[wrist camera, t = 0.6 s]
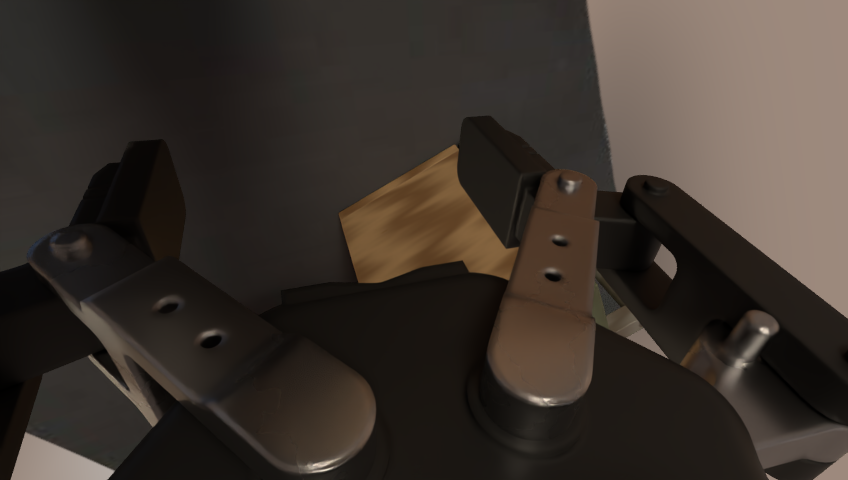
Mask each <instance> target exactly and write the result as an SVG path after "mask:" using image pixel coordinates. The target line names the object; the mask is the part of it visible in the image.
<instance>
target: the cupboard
mask: <svg viewBox="0 0 848 480" xmlns="http://www.w3.org/2000/svg"><path fill="white" fill-rule="evenodd" d="M458 153H459V149H458V148H457V147H456V145H453V146H451V147H449V148H448V149H446V150H444V151H443V152H441V153H439V154H437V155H436V156H434V157H432V158H431V159H429V160H427V161H426V162H424V163H422V164H421V165H419V166H417V167H416V168H414V169H412V170H410V171H409V172H407V173H405V174H404V175H402V176H400V177H399V178H397V179H395V180H394V181H392V182H390V183H388V184H387V185H385V186H383V187H382V188H380V189H378V190H377V191H375V192H373V193H372V194H370V195H368V196H367V197H365V198H363V199H361V200H360V201H358V202H356V203H355V204H353V205H351V206H350V207H348V208H346V209H345V210H343V211H341V212H339V217H340V220H341V224H342V227H343V231H344V234H345V238H346V241H347V245H348V248H349V252H350V255H351V259H352V262H353V266H354V269H355V272H356V276H357V279H358V283H379V282H383V281H386V280H389V279H391V278H394V277H397V276H399V275H402V274H405V273H407V272H410V271H412V270H415V269H418V268H420V267H425V266H431V265H437V264H443V263H449V262H455V261H461V260H463V262H464V263H465V265H466V267H467V269H468V270H469V272H476V273H484V274H489V275H494V276H498V277H501V278H504V279H507V280H509V278H510V275H511V272H512V269H513V265H514V262H515V259H516V256H517V252H518V249H519V247H516V248H510V249H506V248H505V247H504V245H503V244H502V243H501V241H500V240H499V238H498V237H497V236H496V234H495V233H494V231H493V230H492V229H491V227H490V226H489V224H488V223H487V221H486V220H485V219H484V217H483V216H482V214H481V213H480V212H479V210H478V209H477V207H476V206H475V205H474V203H473V202H472V200H471V199H470V197H469V196H468V195H467V193H466V192H465V190H464V189H463V188H462V186H461V185H460V182H459V179H458V175H457V162H458Z"/></svg>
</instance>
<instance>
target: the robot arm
mask: <svg viewBox="0 0 848 480" xmlns="http://www.w3.org/2000/svg"><path fill="white" fill-rule="evenodd" d="M457 175H458V179H459V182H460V185H461V186H462V188H463V189H464V190H465V192H466V193H467V195H468V196H469V197H470V199H471V200H472V202H473V203H474V205H475V206H476V207H477V209H478V210H479V212H480V213H481V214H482V216H483V217H484V219H485V220H486V221H487V223H488V224H489V226H490V227H491V229H492V230H493V231H494V233H495V234H496V236H497V237H498V238H499V240H500V241H501V243H502V244H503V245H504V247H505V248H506V249H510V248H516V247H519V249H518V252H517V256H516V259H515V262H514V265H513V269H512V272H511V275H510V278H509V280H507V279H504V278H501V277H498V276H494V275H489V274H484V273H476V272H469V270H468V269H467V267H466V265H465V263H464V262H463V260H461V261H455V262H449V263H443V264H437V265H431V266H425V267H420V268H418V269H415V270H412V271H410V272H407V273H405V274H402V275H399V276H397V277H394V278H391V279H389V280H386V281H383V282H379V283H340V282H329V283H323V284H317V285H311V286H305V287H299V288H293V289H287V290H281V295H282V305H279V306H277V307H274V308H272V309H270V310H268V311H266V312H264V313H262V314H261V315H259V316H258V315H256V314H255V313H253V312H252V311H251V310H249V309H248V308H246V307H245V306H243V305H242V304H241V303H239V302H238V301H236V300H235V299H233V298H232V297H231V296H229V295H228V294H226V293H225V292H224V291H222V290H221V289H219V288H218V287H216V286H215V285H214V284H212V283H211V282H209V281H208V280H206V279H205V278H204V277H202V276H201V275H199V274H198V273H196V272H195V271H194V270H192V269H191V268H189V267H188V266H186V265H185V264H184V263H182V262H181V261H179V256H180V249H181V243H182V237H183V230H184V224H185V217H186V209H185V202H184V197H183V193H182V190H181V187H180V184H179V180H178V177H177V174H176V171H175V168H174V165H173V162H172V158H171V155H170V152H169V149H168V146H167V144H166V142H165V141H164V140H163V139H160V140H147V141H133V142H129V143H128V145H127V147H126V150H125V152H124V155H123V157H122V159H121V162H119V163H109V164H107V165H106V166H105V167H103V168H102V169H101V170H99V171H98V172H97V173H96V174H94V175H93V177H92V179H91V181H90V183H89V186H88V190H86V192H85V194H84V196H83V200H81V202H80V204H79V206H78V208H77V210H76V212H75V214H74V217H73V219H72V221H71V223H70V225H69V226H68V227H65V228H61V229H59V230H56V231H54V232H51V233H49V234H47V235H46V236H44V237H42V238H41V239H39V240H38V241H36V242H35V243H34V244H33V245H32V246H31V248H30V249H29V251H28V253H27V260H28V262H29V263H27V264H24V265H21V266H18V267H15V268H12V269H9V270H5V271H2V272H0V480H10V479H11V476H12V473H13V470H14V467H15V463H16V460H17V457H18V454H19V450H20V447H21V444H22V441H23V438H24V434H25V431H26V428H27V425H28V422H29V418H30V415H31V412H32V409H33V405H34V402H35V399H36V396H37V392H38V389H39V386H40V383H41V380H42V375H43V374H44V373H46V372H49V371H51V370H54V369H56V368H59V367H61V366H64V365H66V364H69V363H71V362H74V361H76V360H79V359H81V358H84V357H86V356H88V357H89V358H90V360H91V361H92V362H93V363H94V364H95V365H96V366H97V367H98V368H99V369H100V370H101V371H102V372H103V373H104V374H105V375H106V376H107V377H108V378H109V379H110V380H111V381H112V382H113V383H114V384H115V385H116V386H117V387H118V388H119V389H120V390H121V391H122V392H123V393H124V394H125V395H126V396H127V397H128V398H129V399H130V400H131V401H132V402H133V403H134V404H135V405H136V406H137V407H138V408H139V410H140V411H141V412H142V413H143V415H144V416H145V417H146V419H147V420H148V421H149V423H150V424H151V425H152V427H153V428H152V429H151V430H150V431H149V433H148V434H147V435H146V436H145V437H144V438H143V439H142V441H141V442H140V443H139V444H138V445H137V446H136V448H135V449H134V450H133V451H132V452H131V453H130V454H129V456H128V457H127V458H126V459H125V460H124V461H123V463H122V464H121V465H120V466H119V467H118V468H117V469H116V471H115V472H114V473H113V474H112V475H111V476H110V478H109V479H108V480H769V479H768V478H767V476H766V474H765V473H767V474H769V475H770V476H772V477H774V478H776V479H778V480H813V479H814V478H815V477H817V476H818V475H819V474H821V473H822V472H823V471H824V470H826V469H827V468H828V467H829V466H830V465H832V464H833V463H834V462H836V461H837V460H838V459H839V458H841V457H842V456H843V455H844V454H846V453H847V452H848V319H847V318H846V317H845V316H843V315H842V314H841V313H840V312H838V311H837V310H836V309H834V308H833V307H832V306H831V305H829V304H828V303H827V302H825V301H824V300H823V299H822V298H820V297H819V296H818V295H816V294H815V293H814V292H812V291H811V290H810V289H809V288H807V287H806V286H805V285H804V284H802V283H801V282H800V281H798V280H797V279H796V278H795V277H793V276H792V275H791V274H789V273H788V272H787V271H786V270H784V269H783V268H781V267H780V266H779V265H778V264H777V263H775V262H774V261H773V260H771V259H770V258H769V257H767V256H766V255H765V254H764V253H762V252H761V251H760V250H758V249H757V248H756V247H755V246H753V245H752V244H751V243H749V242H748V241H747V240H746V239H744V238H743V237H742V236H741V235H739V234H738V233H737V232H735V231H734V230H733V229H732V228H730V227H729V226H728V225H726V224H725V223H724V222H722V221H721V220H720V219H719V218H717V217H716V216H715V215H714V214H712V213H711V212H710V211H708V210H707V209H706V208H704V207H703V206H702V205H701V204H699V203H698V202H697V201H696V200H694V199H693V198H692V197H690V196H689V195H688V194H687V193H685V192H684V191H683V190H681V189H680V188H679V187H678V186H676V185H675V184H673V183H671V182H669V181H667V180H664V179H661V178H658V177H654V176H647V175H637V176H633V177H631V178H629V179H628V180H627V183H626V185H625V188H624V191H623V193H622V192H608V191H597V185H596V183H595V182H594V181H593V180H592V179H591V178H589V177H588V176H586V175H584V174H581V173H579V172H576V171H571V170H564V169H556V170H555V169H554V168H553V167H552V166H551V165H550V164H549V163H548V162H547V161H546V160H545V159H543V158H542V157H541V156H540V155H539V154H537V152H536V151H535V150H534V149H533V148H532V147H529V144H527V143H526V142H525V141H524V140H523V139H522V138H521V137H519V136H517V135H515V134H513V133H511V132H509V131H507V130H505V129H504V128H503V127H502V126H500V125H499V124H498V123H497V122H496V121H495V120H494V119H493V118H492V117H491V116H478V117H466V118H465V119H464V120H463V123H462V127H461V135H460V144H459V153H458V162H457ZM661 244H663V245H664V246H665V247H666V248H667V249H668V250H669V251H670V252H671V253H672V254H673V255H674V257H675V259H676V262H677V272H676V274H675V276H674V278H673V280H672V279H671V278H670V277H669V276H668V275H667V274H666V273H665V272H664V271H663V270H662V269H661V268H660V267H659V266H658V265H657V264H656V263H655V262H654V259H655V257H656V255H657V252H658V250H659V248H660V246H661ZM596 268H597V270H598V272H599V273H600V274H601V276H602V277H603V278H604V279H605V281H606V282H607V283H608V284H609V286H610V287H611V288H612V289H613V290H614V292H615V293H616V294H617V295H618V297H619V298H620V299H621V300H622V302H623V303H624V304H625V305H626V307H627V308H628V309H629V310H630V311H631V313H632V314H633V315H634V316H635V318H636V319H637V320H638V321H639V323H640V324H641V325H642V326H643V328H645V330H646V331H647V333H648V334H649V335H650V336H651V337H652V339H653V340H654V341H655V342H656V344H657V345H658V346H659V347H660V349H661V350H662V351H663V352H664V354H665V355H666V356H667V357H668V358H669V359H667V358H665V357H663V356H661V355H659V354H657V353H655V352H653V351H651V350H649V349H647V348H645V347H643V346H641V345H639V344H637V343H635V342H633V341H631V340H629V339H627V338H625V337H623V336H621V335H619V334H617V333H615V332H613V331H611V330H609V329H607V328H605V327H603V326H601V325H599V324H597V323H596V321H595V318H594V317H593V316H592V309H593V297H594V285H595V273H596Z"/></svg>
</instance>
